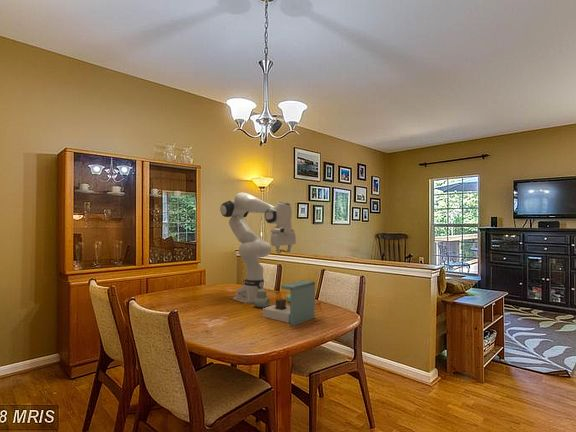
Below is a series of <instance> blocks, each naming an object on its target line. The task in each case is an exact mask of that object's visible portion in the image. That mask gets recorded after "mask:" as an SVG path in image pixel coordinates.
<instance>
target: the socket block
mask: <svg viewBox="0 0 576 432" xmlns="http://www.w3.org/2000/svg"><path fill="white" fill-rule="evenodd" d="M262 317H263V318H267V319H271V320H275V321H280V322H284V323H289V324H290V305H287V304H286V309H283V310H279V309H276V304H274V305H270V306H269V305H268V306H267V307H265V308H262Z"/></svg>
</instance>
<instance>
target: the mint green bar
mask: <svg viewBox="0 0 576 432" xmlns="http://www.w3.org/2000/svg"><path fill="white" fill-rule="evenodd" d="M285 300H286V301H287V302H288V303H290V294H289V293H287V295H286V296H285Z"/></svg>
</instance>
